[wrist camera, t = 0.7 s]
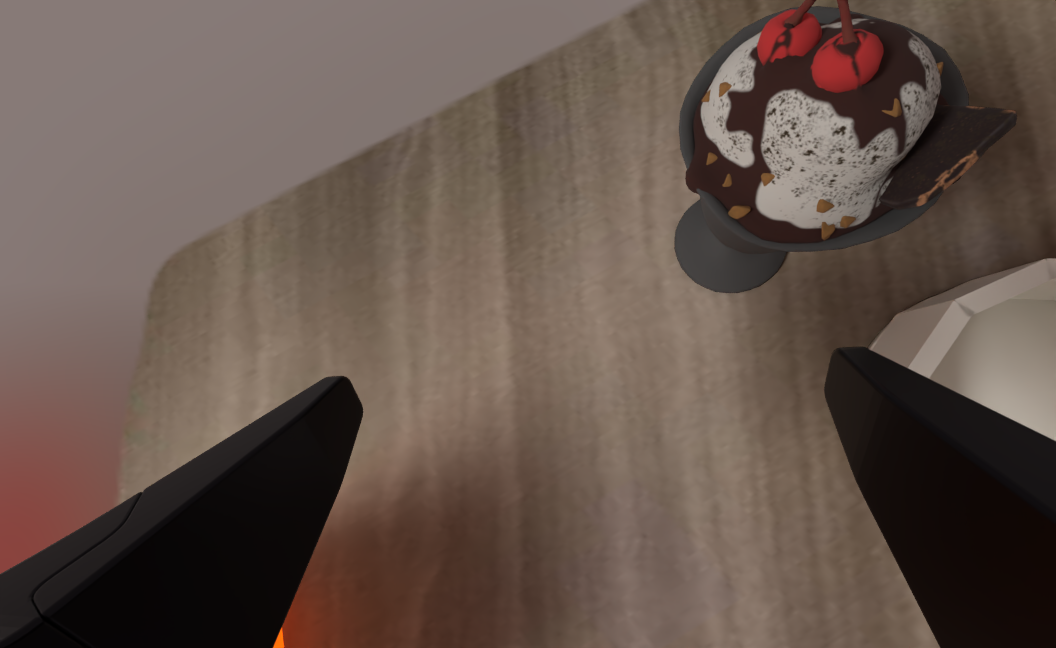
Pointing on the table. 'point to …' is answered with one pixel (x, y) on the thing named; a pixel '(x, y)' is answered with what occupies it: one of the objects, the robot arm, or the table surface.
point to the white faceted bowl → (987, 342)
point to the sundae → (819, 140)
